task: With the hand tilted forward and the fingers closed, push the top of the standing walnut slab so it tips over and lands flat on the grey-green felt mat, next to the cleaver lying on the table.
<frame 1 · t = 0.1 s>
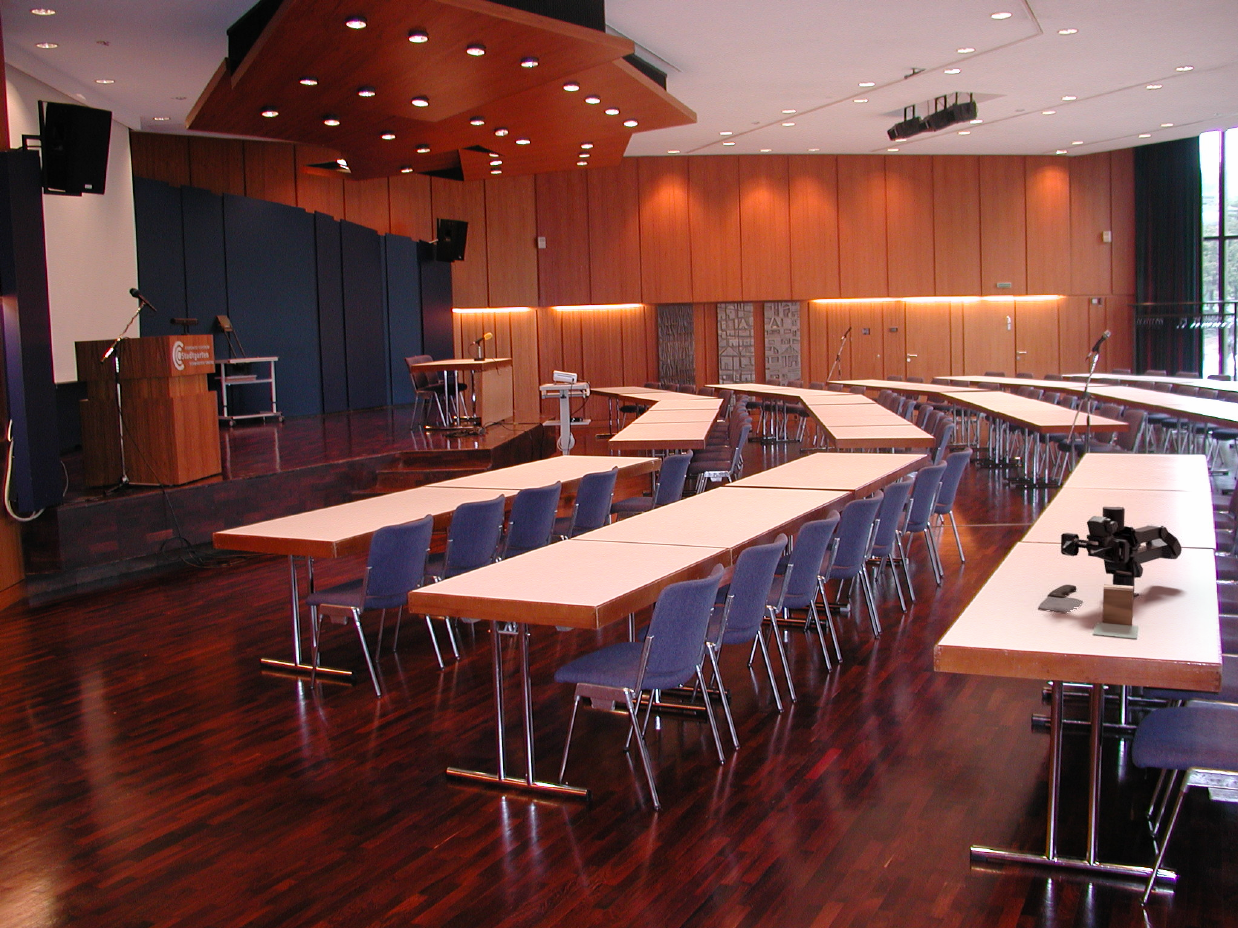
hand: (1078, 551, 288), 17 cm above the table, tool horizontal, fingers open, 9 cm apart
slab: (1117, 623, 276), on the table
cleaver: (1063, 602, 300), on the table
mat: (1115, 631, 268), on the table
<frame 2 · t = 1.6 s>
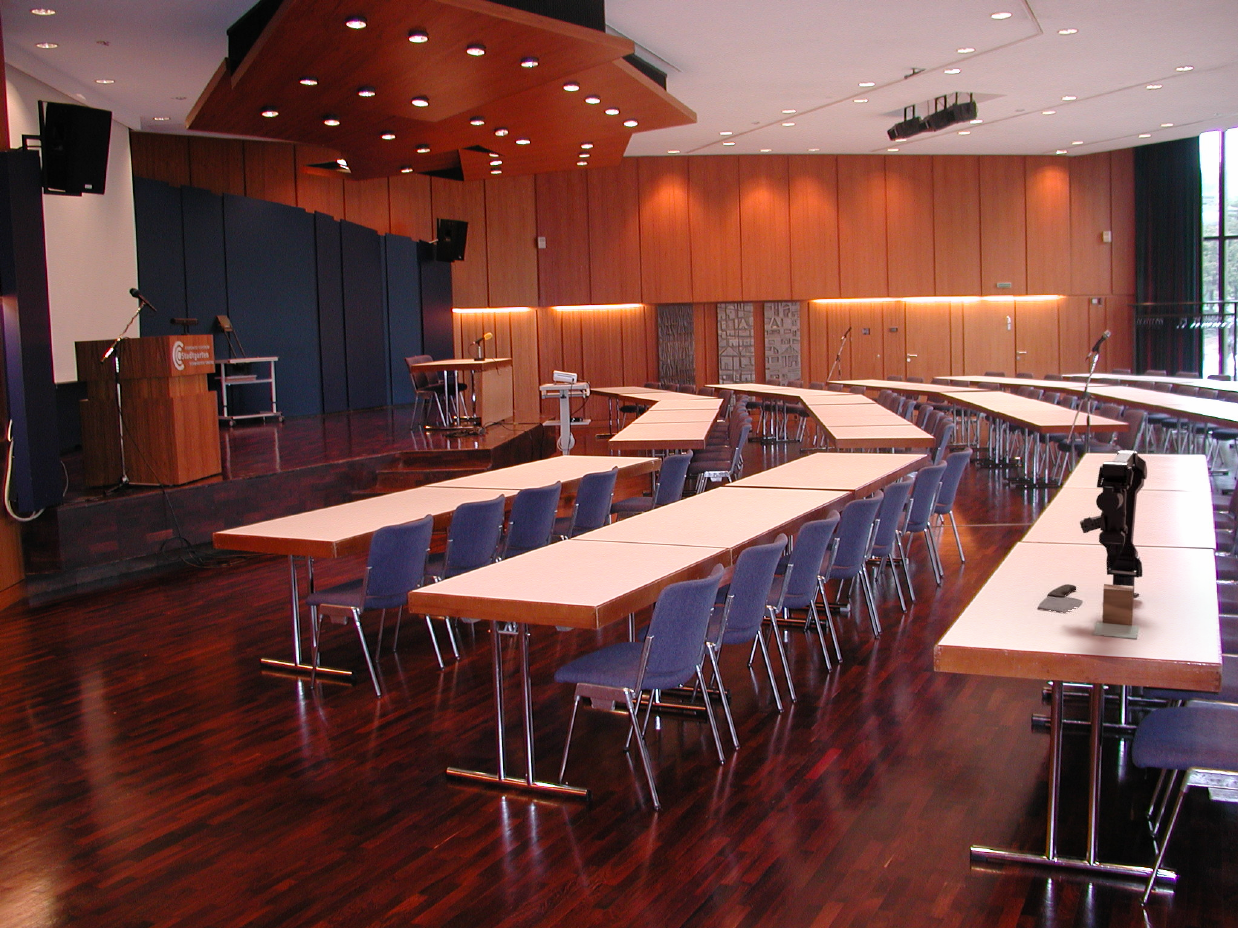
hand: (1112, 563, 288), 13 cm above the table, tool pointing down, fingers open, 8 cm apart
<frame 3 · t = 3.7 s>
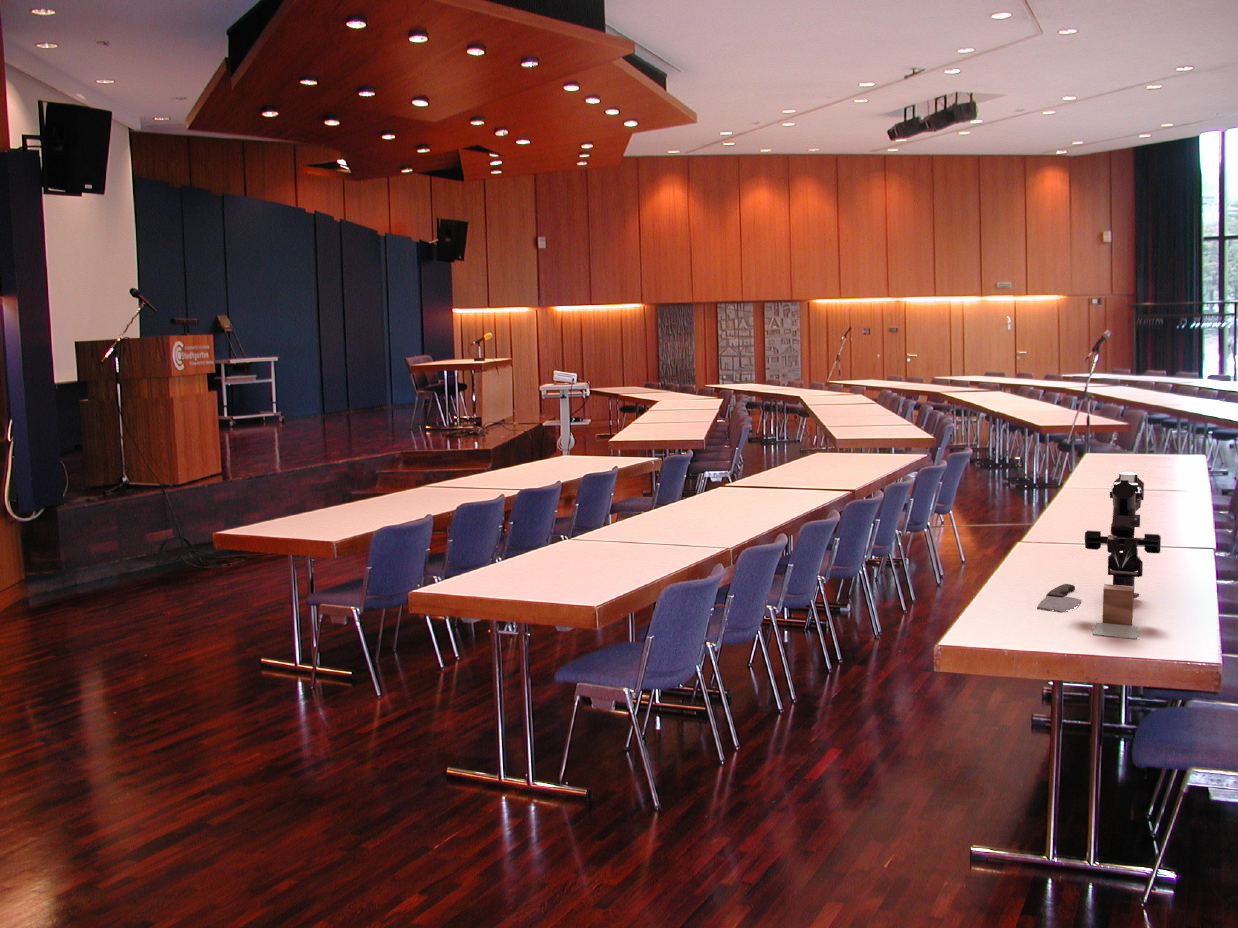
hand: (1120, 567, 281), 13 cm above the table, tool tilted 45°, fingers closed
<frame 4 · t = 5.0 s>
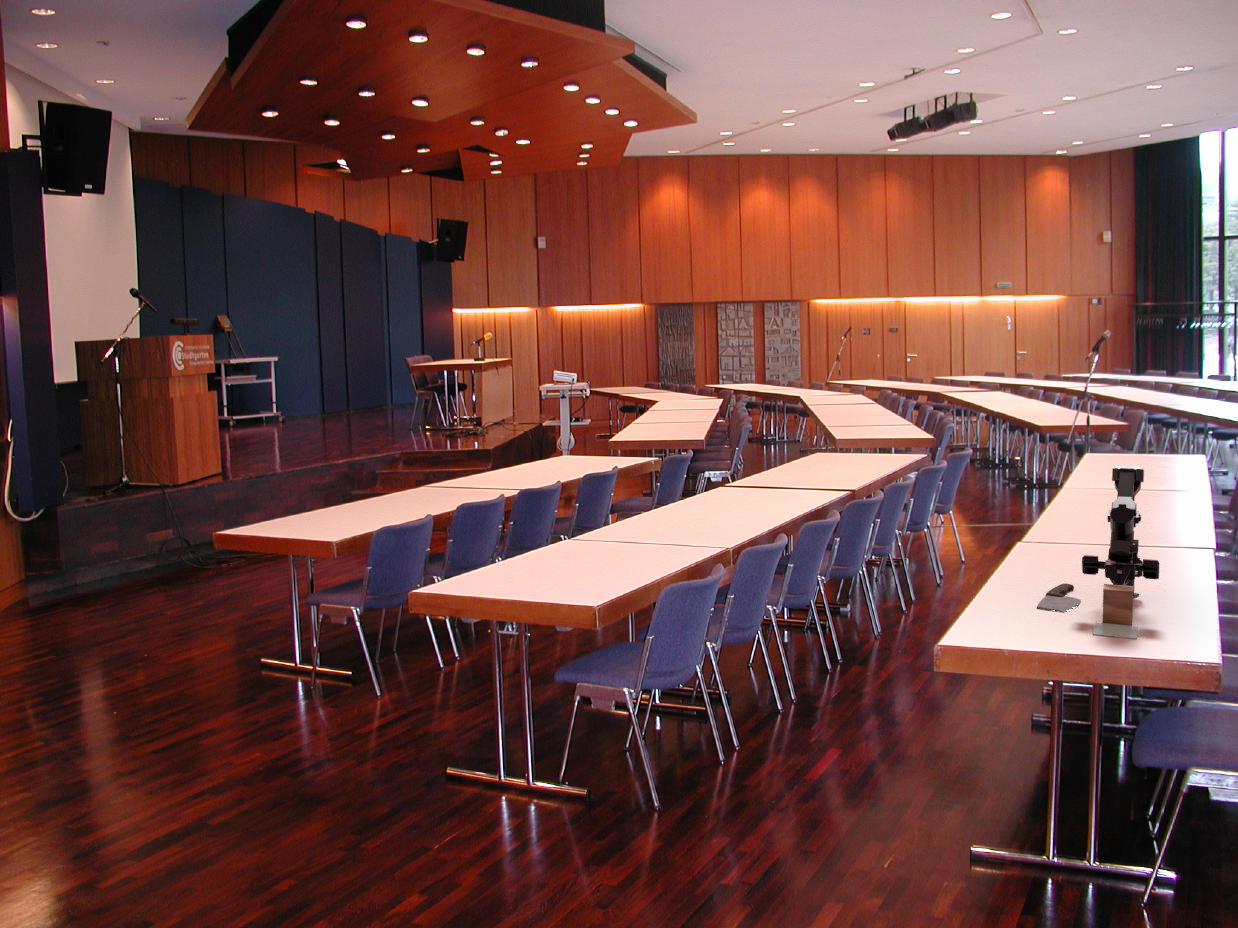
hand: (1118, 593, 276), 8 cm above the table, tool tilted 45°, fingers closed
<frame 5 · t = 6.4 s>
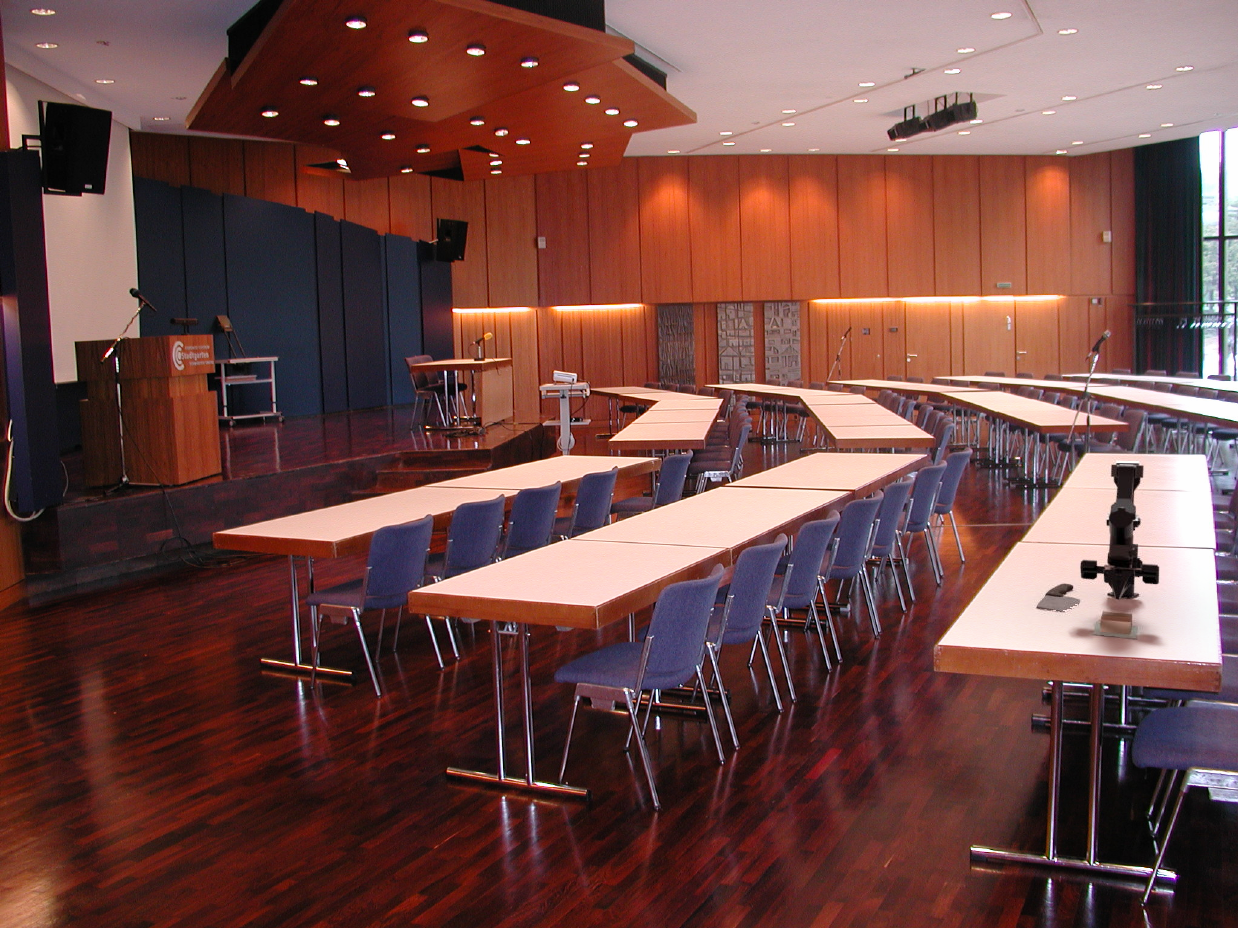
hand: (1117, 598, 271), 8 cm above the table, tool tilted 45°, fingers closed
slab: (1117, 617, 274), point 2 cm above the table, tilted 90°, touching mat
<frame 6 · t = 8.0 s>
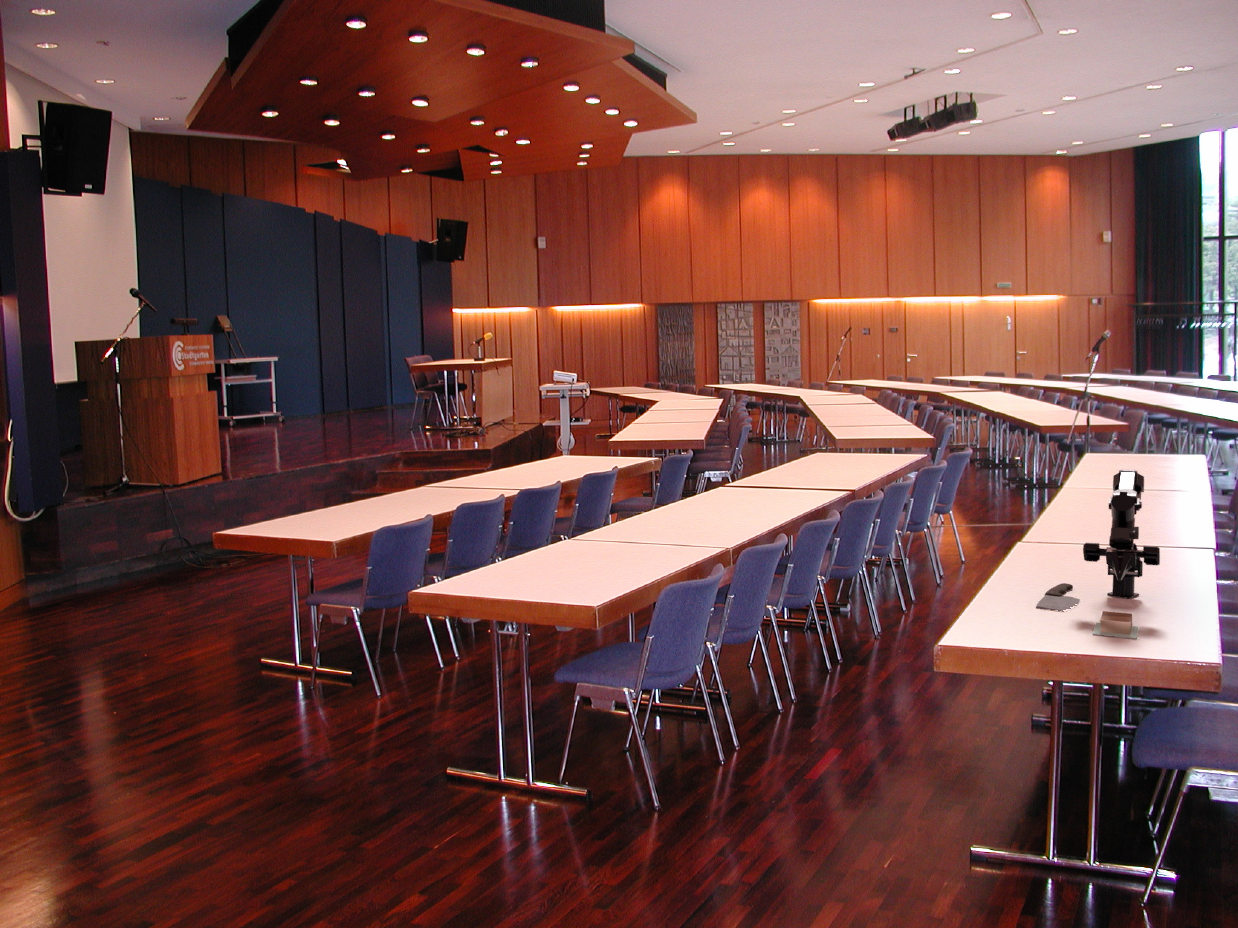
hand: (1119, 579, 279), 10 cm above the table, tool tilted 45°, fingers closed
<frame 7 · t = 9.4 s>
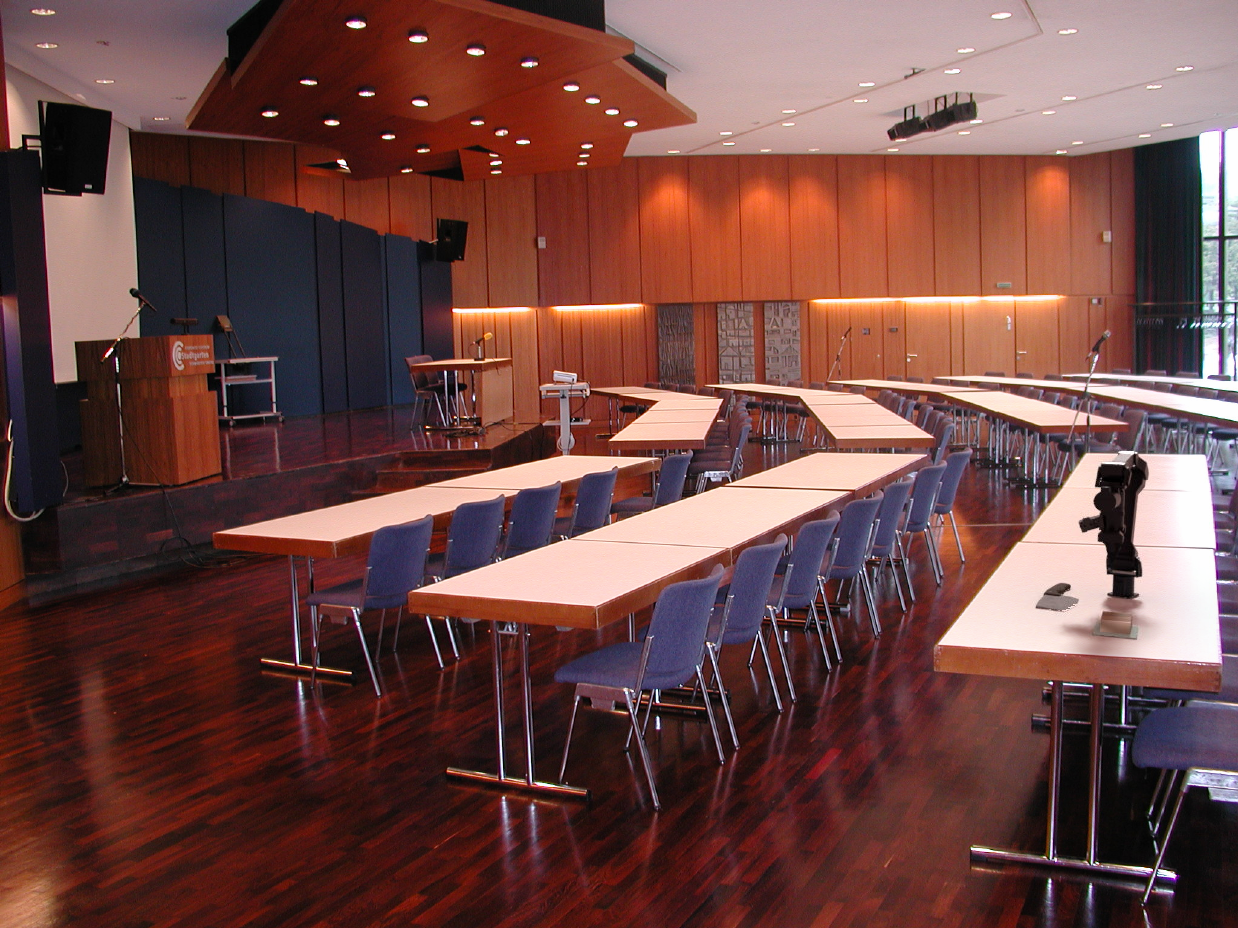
hand: (1111, 562, 289), 13 cm above the table, tool pointing down, fingers closed
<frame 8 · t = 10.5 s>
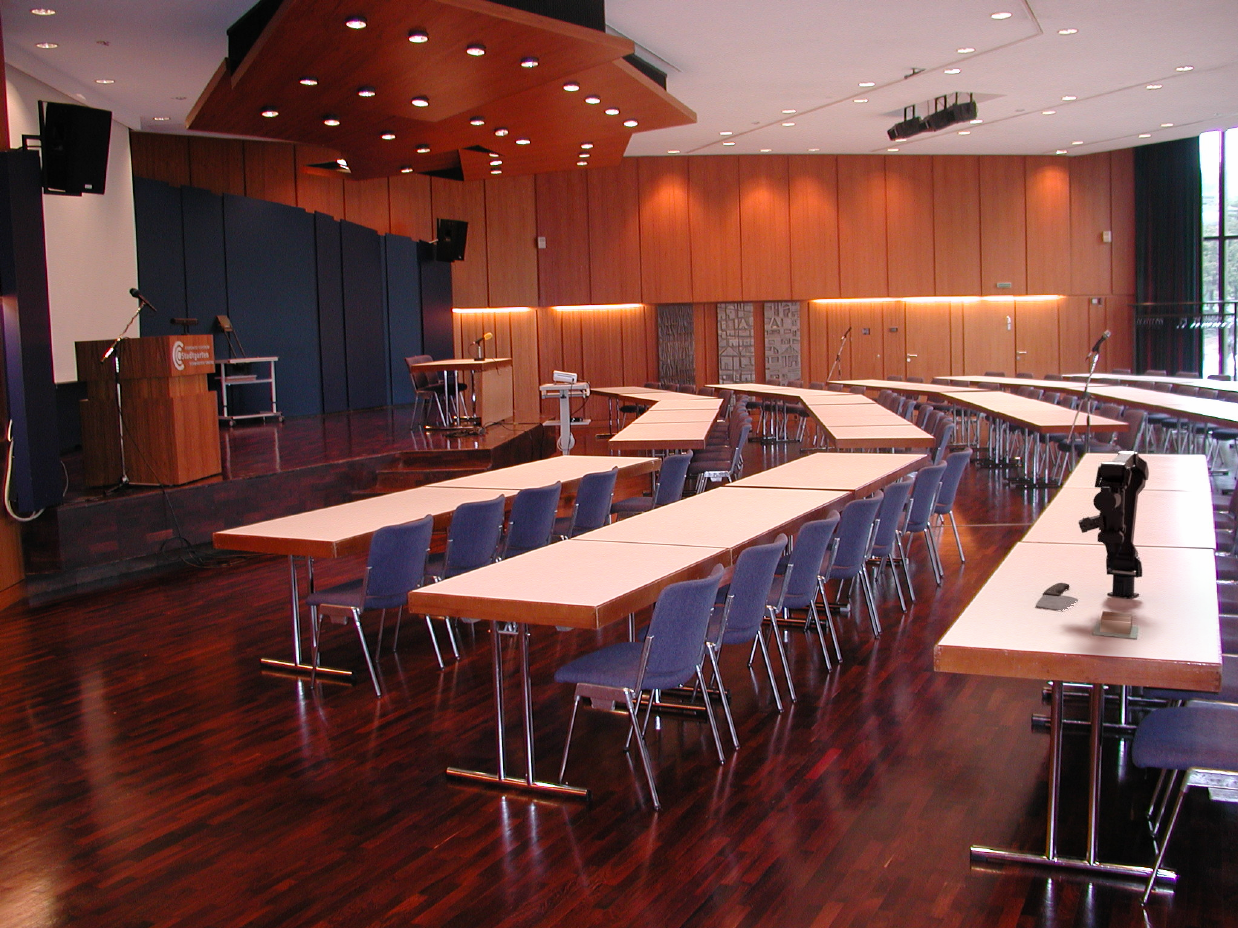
hand: (1111, 562, 289), 13 cm above the table, tool pointing down, fingers closed
at the end: slab tilted 90°; slab inside the target area on the mat (3.9 cm from its centre), point 1.8 cm above the mat's base; slab touching mat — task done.
